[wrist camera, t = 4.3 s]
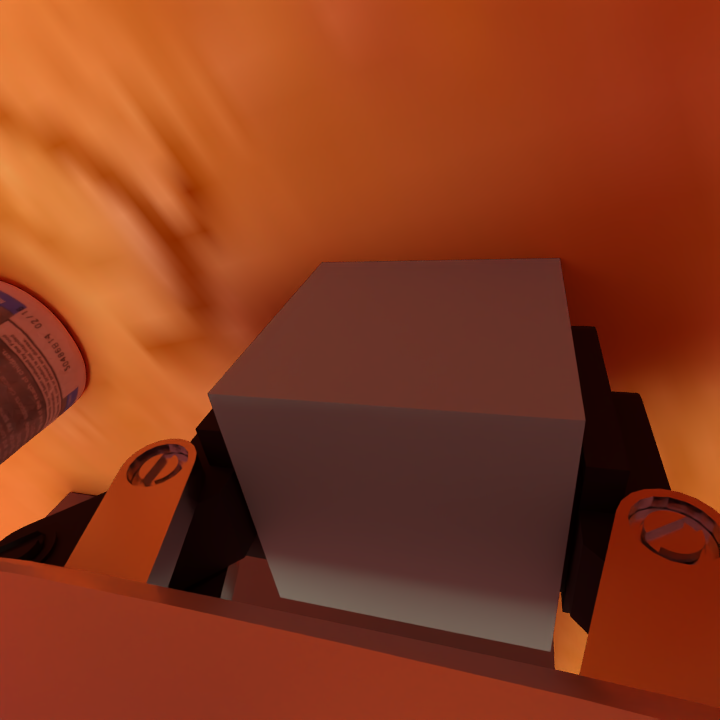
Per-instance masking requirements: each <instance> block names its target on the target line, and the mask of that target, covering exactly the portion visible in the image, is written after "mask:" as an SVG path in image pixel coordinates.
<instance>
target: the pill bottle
mask: <svg viewBox="0 0 720 720" xmlns="http://www.w3.org/2000/svg"><path fill="white" fill-rule="evenodd" d="M85 384H86V370H85V364H84V361H83V358H82V355H81V353H80V351H79V349H78V347H77V345H76V343H75V342H74V340H73V338H72V337H71V336H70V334H69V333H68V331H67V330H66V329H65V327H64V326H63V325H62V323H61V322H60V321H59V320H58V319H57V318H56V316H55V315H54V314H53V313H52V312H51V311H50V310H49V309H48V308H47V307H46V306H44V305H43V304H42V303H41V302H39V301H38V300H37V299H35V298H34V297H32V296H31V295H30V294H28V293H27V292H25V291H23V290H21V289H19V288H17V287H15V286H13V285H11V284H8V283H5V282H2V281H0V464H1V463H3V462H4V461H5V460H6V459H8V458H9V457H10V456H11V455H13V454H14V453H15V452H16V451H17V450H18V449H20V448H21V447H22V446H23V445H24V444H26V443H27V442H28V441H29V440H31V439H32V438H33V437H34V436H35V435H37V434H38V433H40V432H41V431H42V430H43V429H44V428H46V427H47V426H48V425H49V424H51V423H52V422H53V421H54V420H55V419H56V418H57V417H59V416H60V415H61V414H62V413H64V412H65V411H66V410H67V409H68V408H69V407H70V406H72V405H73V404H74V403H75V402H76V401H77V400H78V399H79V397H80V396H81V395H82V393H83V391H84V389H85Z"/></svg>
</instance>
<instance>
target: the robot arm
mask: <svg viewBox="0 0 720 720" xmlns="http://www.w3.org/2000/svg"><path fill="white" fill-rule="evenodd" d="M571 331H572V338H573V344H574V350H575V357H576V363H577V369H578V376H579V382H580V389H581V395H582V401H583V408H584V414H585V420H586V421H585V428H584V434H583V441H582V447H581V454H580V461H579V467H578V474H577V480H576V487H575V494H574V500H573V507H572V513H571V520H570V526H569V533H568V540H567V546H566V553H565V559H564V566H563V573H562V579H561V586H560V592H561V596H562V611H563V612H566V613H570V616H571V617H572V618H573V619H574V620H575V621H576V622H577V623H578V624H579V625H580V626H581V627H582V628H583V629H584V630H585V631H586V632H587V633H588V638H587V642H586V647H585V651H584V656H583V660H582V665H581V669H580V673H579V675H576V674H572V673H568V672H563V671H559V670H554V669H550V668H545V667H540V666H536V665H531V664H526V663H522V662H517V661H513V660H508V659H503V658H499V657H494V656H489V655H485V654H480V653H475V652H471V651H466V650H461V649H457V648H452V647H448V646H443V645H438V644H434V643H429V642H424V641H420V640H415V639H410V638H406V637H401V636H397V635H392V634H387V633H383V632H378V631H373V630H368V629H364V628H359V627H354V626H349V625H345V624H340V623H335V622H330V621H326V620H321V619H316V618H311V617H307V616H302V615H297V614H292V613H288V612H283V611H278V610H273V609H269V608H264V607H259V606H254V605H249V604H245V603H240V602H235V601H232V598H233V593H234V589H235V584H236V580H237V576H238V571H239V561H240V560H241V559H243V558H245V556H250V557H256V558H262V559H266V556H265V553H264V550H263V547H262V545H261V542H260V539H259V536H258V533H257V531H256V528H255V525H254V522H253V519H252V517H251V514H250V511H249V508H248V506H247V503H246V500H245V497H244V494H243V492H242V489H241V486H240V483H239V480H238V478H237V475H236V472H235V469H234V466H233V464H232V461H231V458H230V455H229V452H228V450H227V447H226V444H225V441H224V438H223V436H222V433H221V430H220V427H219V424H218V422H217V419H216V416H215V413H214V410H213V409H212V410H211V411H210V412H209V413H208V415H207V416H206V417H205V418H204V419H203V421H202V422H201V423H200V424H199V426H198V427H197V428H196V431H197V435H196V436H195V437H194V438H193V439H192V441H191V442H189V441H186V440H183V439H166V440H162V441H158V442H155V443H152V444H150V445H147V446H145V447H144V448H142V449H140V450H139V451H137V452H135V453H134V454H133V455H132V456H131V457H130V458H128V459H127V460H126V462H125V463H124V464H123V466H122V467H121V468H120V470H119V472H118V473H117V475H116V477H115V479H114V480H113V482H112V484H111V486H110V487H109V489H108V491H107V492H104V493H102V494H100V495H97V496H95V497H93V498H90V499H88V500H86V501H83V502H81V503H79V504H76V505H74V506H72V507H69V508H67V509H64V510H62V511H60V512H57V513H55V514H53V515H50V516H48V517H46V518H43V519H41V520H39V521H36V522H34V523H32V524H29V525H27V526H25V527H23V528H21V529H19V530H17V531H15V532H13V533H11V534H10V535H8V536H7V537H5V538H4V539H3V540H1V541H0V720H720V514H719V513H718V512H717V511H716V510H714V509H713V508H712V507H710V506H708V505H707V504H705V503H703V502H702V501H700V500H698V499H696V498H694V497H691V496H688V495H686V494H683V493H680V492H676V491H671V489H670V486H669V483H668V479H667V476H666V473H665V470H664V467H663V464H662V461H661V458H660V454H659V451H658V448H657V445H656V442H655V439H654V436H653V433H652V430H651V426H650V423H649V420H648V417H647V414H646V411H645V408H644V405H643V401H642V399H641V397H640V395H639V394H638V393H629V392H611V389H610V385H609V381H608V377H607V373H606V368H605V364H604V360H603V356H602V352H601V348H600V344H599V340H598V335H597V331H596V328H595V327H590V326H571Z"/></svg>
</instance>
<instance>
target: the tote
mask: <svg viewBox="0 0 720 720" xmlns="http://www.w3.org/2000/svg"><path fill="white" fill-rule="evenodd" d="M93 497H95V496H90V495H84V494H77V493H71V492H70V493H69V494H68V495H67V496H66V497H65V498H64V499H63V500H62V501H61V502H60V503H59V504H58V505H57V506H56V507H55V508H54V509H53V510H52V511H51V512H50V513H49V514H48V515H47V516H46V517H48V516H50V515H53V514H55V513H57V512H60V511H62V510H64V509H67V508H69V507H72V506H74V505H76V504H79V503H81V502H83V501H86V500H88V499H90V498H93ZM46 517H45V518H46ZM232 601H235V602H240V603H245V604H249V605H254V606H259V607H264V608H269V609H273V610H278V611H283V612H288V613H292V614H297V615H302V616H307V617H311V618H316V619H321V620H326V621H330V622H335V623H340V624H345V625H349V626H354V627H359V628H364V629H368V630H373V631H378V632H383V633H387V634H392V635H397V636H401V637H406V638H410V639H415V640H420V641H424V642H429V643H434V644H438V645H443V646H448V647H452V648H457V649H461V650H466V651H471V652H475V653H480V654H485V655H489V656H494V657H499V658H503V659H508V660H513V661H517V662H522V663H526V664H531V665H536V666H540V667H545V668H550V669H554V670H555V667H554V646H553V639H552V645H551V652H549V651H544V650H539V649H534V648H529V647H524V646H520V645H515V644H510V643H505V642H500V641H495V640H490V639H485V638H480V637H475V636H470V635H465V634H460V633H455V632H450V631H445V630H440V629H435V628H430V627H425V626H420V625H415V624H410V623H405V622H401V621H396V620H391V619H386V618H381V617H376V616H371V615H366V614H361V613H356V612H351V611H346V610H341V609H336V608H331V607H326V606H321V605H316V604H311V603H306V602H301V601H296V600H291V599H286V598H281V597H280V595H279V592H278V589H277V587H276V584H275V581H274V578H273V575H272V573H271V570H270V567H269V564H268V561H267V559H262V558H256V557H250V556H245V558H243V559H241V560H240V561H239V571H238V576H237V580H236V584H235V589H234V593H233V598H232Z"/></svg>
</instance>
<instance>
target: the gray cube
mask: <svg viewBox="0 0 720 720" xmlns="http://www.w3.org/2000/svg"><path fill="white" fill-rule="evenodd" d="M208 396H209V399H210V402H211V405H212V408H213V410H214V413H215V416H216V419H217V422H218V424H219V427H220V430H221V433H222V436H223V438H224V441H225V444H226V447H227V450H228V452H229V455H230V458H231V461H232V464H233V466H234V469H235V472H236V475H237V478H238V480H239V483H240V486H241V489H242V492H243V494H244V497H245V500H246V503H247V506H248V508H249V511H250V514H251V517H252V519H253V522H254V525H255V528H256V531H257V533H258V536H259V539H260V542H261V545H262V547H263V550H264V553H265V556H266V559H267V561H268V564H269V567H270V570H271V573H272V575H273V578H274V581H275V584H276V587H277V589H278V592H279V595H280V597H281V598H286V599H291V600H296V601H301V602H306V603H311V604H316V605H321V606H326V607H331V608H336V609H341V610H346V611H351V612H356V613H361V614H366V615H371V616H376V617H381V618H386V619H391V620H396V621H401V622H405V623H410V624H415V625H420V626H425V627H430V628H435V629H440V630H445V631H450V632H455V633H460V634H465V635H470V636H475V637H480V638H485V639H490V640H495V641H500V642H505V643H510V644H515V645H520V646H524V647H529V648H534V649H539V650H544V651H549V652H551V645H552V639H553V632H554V625H555V619H556V612H557V606H558V599H559V592H560V586H561V579H562V573H563V566H564V559H565V553H566V546H567V540H568V533H569V526H570V520H571V513H572V507H573V500H574V494H575V487H576V480H577V474H578V467H579V461H580V454H581V447H582V441H583V434H584V428H585V421H586V420H585V414H584V408H583V401H582V395H581V389H580V382H579V376H578V369H577V363H576V357H575V350H574V344H573V338H572V331H571V325H570V319H569V312H568V306H567V300H566V293H565V287H564V281H563V274H562V268H561V262H560V258H533V259H478V260H423V261H368V262H322V263H321V264H320V265H319V266H318V267H317V269H316V270H315V271H314V272H313V273H312V274H311V275H310V277H309V278H308V279H307V280H306V281H305V282H304V283H303V285H302V286H301V287H300V288H299V289H298V290H297V292H296V293H295V294H294V295H293V296H292V297H291V298H290V300H289V301H288V302H287V303H286V304H285V305H284V306H283V308H282V309H281V310H280V311H279V312H278V313H277V314H276V316H275V317H274V318H273V319H272V320H271V321H270V323H269V324H268V325H267V326H266V327H265V328H264V329H263V331H262V332H261V333H260V334H259V335H258V336H257V337H256V339H255V340H254V341H253V342H252V343H251V344H250V346H249V347H248V348H247V349H246V350H245V351H244V352H243V354H242V355H241V356H240V357H239V358H238V359H237V360H236V362H235V363H234V364H233V365H232V366H231V367H230V368H229V370H228V371H227V372H226V373H225V374H224V375H223V377H222V378H221V379H220V380H219V381H218V382H217V383H216V385H215V386H214V387H213V388H212V389H211V390H210V391H209V393H208Z"/></svg>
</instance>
